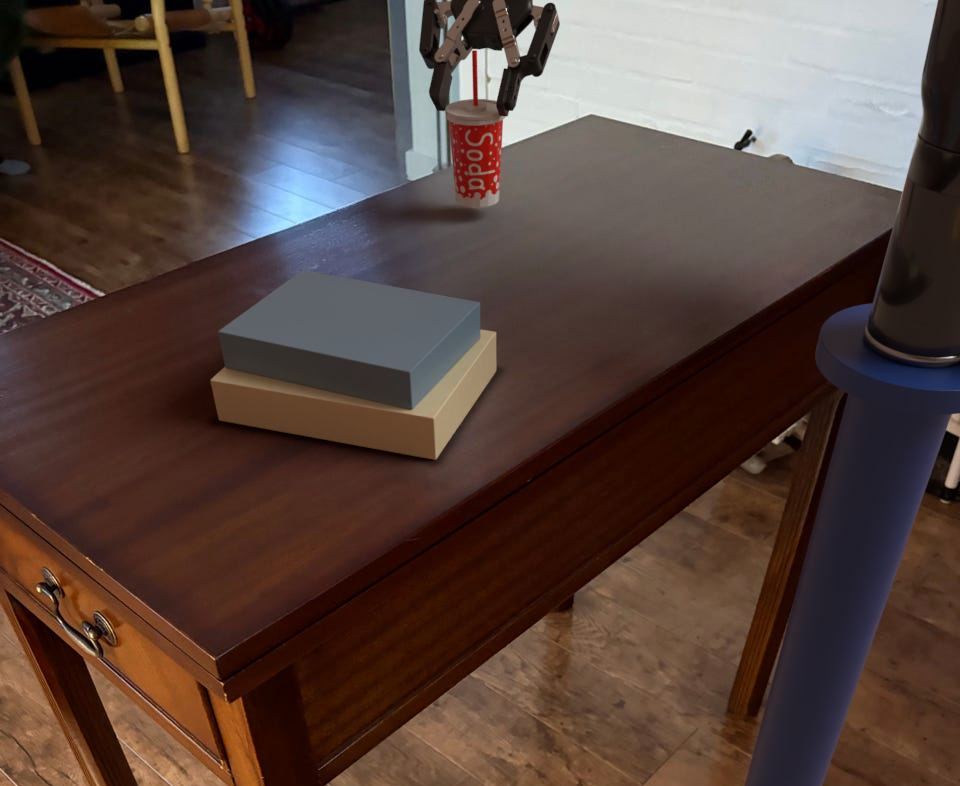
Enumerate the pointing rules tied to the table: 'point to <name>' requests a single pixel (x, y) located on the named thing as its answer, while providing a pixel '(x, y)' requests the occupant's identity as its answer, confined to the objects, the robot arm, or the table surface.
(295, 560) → the table surface
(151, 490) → the table surface
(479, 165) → the beverage cup
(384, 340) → the book stack
